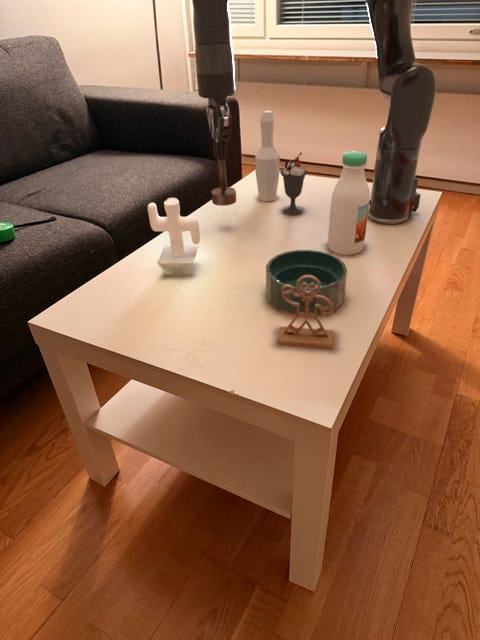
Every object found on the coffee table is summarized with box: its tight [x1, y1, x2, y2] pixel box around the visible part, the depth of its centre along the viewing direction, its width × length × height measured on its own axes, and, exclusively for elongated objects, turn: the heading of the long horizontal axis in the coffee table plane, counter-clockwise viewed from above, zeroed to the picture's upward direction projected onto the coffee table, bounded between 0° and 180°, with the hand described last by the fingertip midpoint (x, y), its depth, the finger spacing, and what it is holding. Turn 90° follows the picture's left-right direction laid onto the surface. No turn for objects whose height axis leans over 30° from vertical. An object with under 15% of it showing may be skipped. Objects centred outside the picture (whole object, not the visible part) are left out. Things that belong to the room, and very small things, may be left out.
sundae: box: [279, 152, 309, 216], centre depth 114 cm, size 7×7×15 cm
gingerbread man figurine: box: [276, 275, 335, 350], centre depth 72 cm, size 9×4×12 cm, turn 80°
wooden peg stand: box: [211, 159, 237, 207], centre depth 103 cm, size 6×6×15 cm
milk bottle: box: [327, 150, 371, 256], centre depth 95 cm, size 8×8×20 cm
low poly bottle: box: [254, 110, 281, 202], centre depth 120 cm, size 6×6×22 cm
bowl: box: [265, 249, 348, 316], centre depth 84 cm, size 14×14×6 cm
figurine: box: [147, 197, 201, 276], centre depth 91 cm, size 7×9×15 cm
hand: (221, 157), depth 101 cm, fingers closed on wooden peg stand
